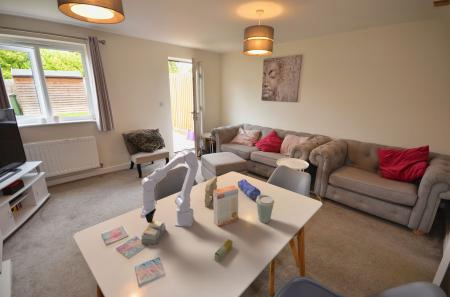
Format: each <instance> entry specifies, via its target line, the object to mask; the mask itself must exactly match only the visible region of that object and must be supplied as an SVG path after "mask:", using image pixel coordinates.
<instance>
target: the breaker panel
mask: <svg viewBox="0 0 450 297" xmlns="http://www.w3.org/2000/svg"><path fill="white" fill-rule="evenodd" d="M147 226H149V224H148V225H147ZM151 228H153V229H155V230H157V231H158V232H157V234H156V235H147V234H145V233H144V231H143V232H142V233H141V239H140V240H141V244H143V245H144V244H146V245H158V243H159V242H160V240H161V238H162V236H163V234H164V233H165V232H166V225H165V222H163V224H162V226H161V228H158V227H151Z"/></svg>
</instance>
